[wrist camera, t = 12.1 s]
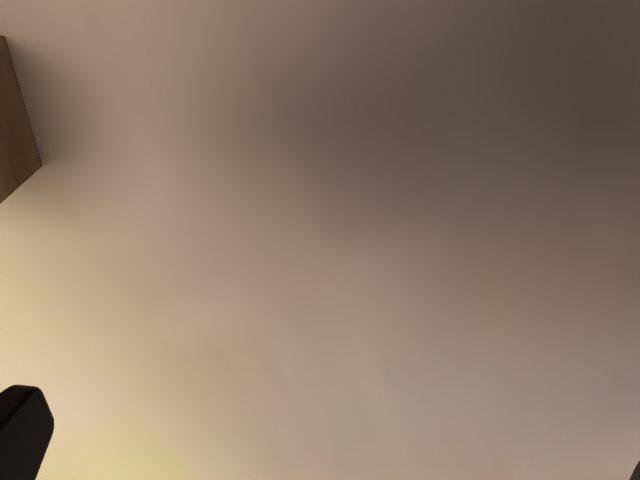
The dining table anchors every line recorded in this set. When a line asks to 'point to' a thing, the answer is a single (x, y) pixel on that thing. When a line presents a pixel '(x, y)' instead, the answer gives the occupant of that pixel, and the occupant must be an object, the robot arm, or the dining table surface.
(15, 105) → the brown rectangular pillar
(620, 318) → the dining table surface
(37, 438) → the robot arm
